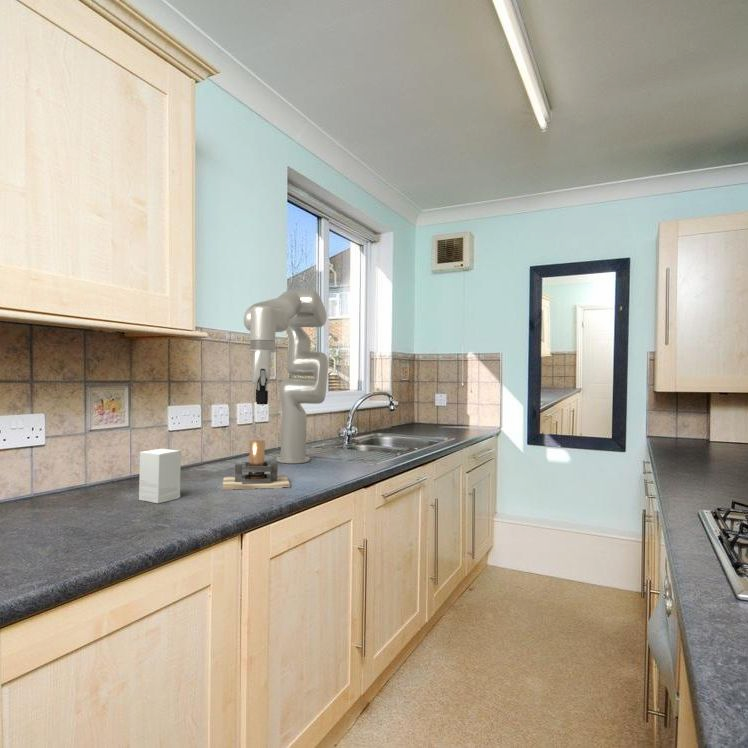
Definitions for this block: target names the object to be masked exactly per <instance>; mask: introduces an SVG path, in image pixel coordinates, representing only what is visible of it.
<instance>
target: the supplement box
mask: <svg viewBox="0 0 748 748" xmlns="http://www.w3.org/2000/svg"><path fill="white" fill-rule="evenodd" d="M181 456H182V451H181V450H177V449H169V448H168V449H167V448H155V449H151V450H150V449H149V450H144V451H139V473H138V474H139V478H138V479H139V482H138V483H139V484H138V485H139V486H138V500H139V501H142V502H143V501H144V502H148V503H154V504H162V503H166V502H170V501H174V500H176V499H177V500H178V499H180V498H181V461H182V460H181V459H182V457H181Z"/></svg>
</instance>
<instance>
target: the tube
mask: <svg viewBox="0 0 748 748" xmlns="http://www.w3.org/2000/svg"><path fill="white" fill-rule="evenodd" d="M265 442H266V441H265V440H264V439H263V440H262V439H252V440H249V449H248V450H249V451H248V452H249V453H248V454H249V457H248V459H249V460H248V462H249V466H264V462H265ZM247 473H248V476H249V479H264V474H265V472H247Z"/></svg>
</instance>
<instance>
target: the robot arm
mask: <svg viewBox="0 0 748 748" xmlns="http://www.w3.org/2000/svg"><path fill="white" fill-rule="evenodd" d="M326 322H327V310H326V308H325V305H324V303H323V301H322V298H321V296H320V294H319V293H318V292H316V290H314V289H289V290H286V291H284V292H283V293H282V294H280V295H279V296H278V297H275V298H270V299H268V300H264V301H260V302H256V303H254V304H252V305H251V306H249V307H248V308H247V309H246V311H245V312H244V315H243V325H244V326H245V329H246V330H248V331H249V334H250V335H249V352H253V353H252V373H251V374H252V376H251V377H252V378H251V379H252V383H253V385H255V384H256V389H255V402H256V405H268V403H269V401H268V399H269V390H268V385H269V383H270V381H271V367H272V366H271V365H272V353H275V352H276V333H284V332H285V331H286V333H287V338H288V347H287V357H286V358H287V359H286V372H288V374H290V376H291V375H292V376H297V377H289V378H285V379H283V380H282V381H281V383H280V386H279V394H280V395H279V396H280V403H281V421H280V422H281V425H280V426H281V427H280V433H281V434H280V456H277V457H275V458H276V459H275V460H276V462H277V463H282V464H303V463H304V464H305V463H309V462H310V459H311V458H310V457H309V456H306V455H307V453H306V452H307V422H308V421H307V420H308V419H307V418H308V417H307V412H306V410H305V408H304V407H303V406H302V404H307V405H309V404H311V405H312V404H313V405H315V404H316V405H317V404H323V402H324V401H325V399H326V397H327V396H326V395H327V385H328V384H327V383H328V382H327V381H328V373H329V372H328V371H329V360H328V357H327V355H326V354H325V353H324V352H323V351H311V345H312V343H311V342H312V341H311V338H310V336H309V335H308V333H307V332H306V331H305V330H304V329H303V328H322V327H324V326H325V324H326ZM299 376H300V377H299ZM301 377H302V378H301ZM304 377H313V378H304Z"/></svg>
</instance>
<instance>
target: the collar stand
mask: <svg viewBox="0 0 748 748" xmlns="http://www.w3.org/2000/svg"><path fill="white" fill-rule="evenodd" d="M278 465H279V464H278V462H277V463H276V462H275V463H274V462H273V463H272V462H271V461H264V466H249V461H242V462H241V463H235V464H234V468H235V469H234V476H225V477H223V481H222V491H234V490H233V489H245V490H256V489H255V488H274V489H283V488H282V487H290V488H291V484H290V481H289V479H288V477H287V475H278V473H279V472H278V469H279V466H278ZM248 472H264V479H249V476H248V474H247V473H248ZM266 472H267V473H266ZM268 472H269V473H268ZM244 473H245V474H244Z"/></svg>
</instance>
